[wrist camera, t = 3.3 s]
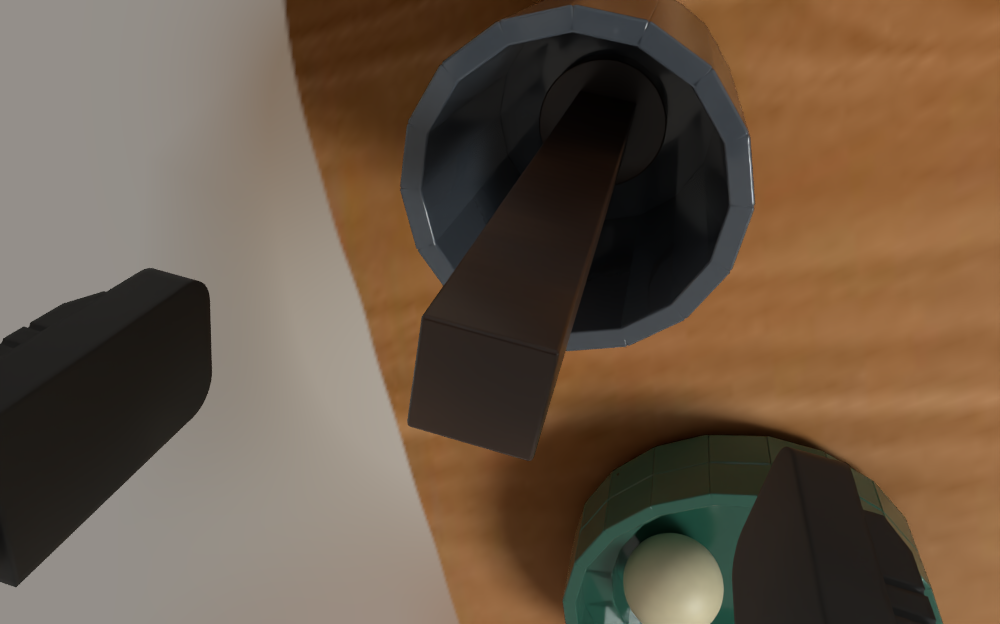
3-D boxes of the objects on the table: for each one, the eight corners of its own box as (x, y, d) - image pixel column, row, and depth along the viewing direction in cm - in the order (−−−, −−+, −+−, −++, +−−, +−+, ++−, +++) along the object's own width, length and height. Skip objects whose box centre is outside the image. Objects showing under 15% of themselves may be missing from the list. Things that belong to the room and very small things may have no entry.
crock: (474, 195, 30) (386, 303, 21) (513, -41, 25) (422, -29, 17) (689, 249, 29) (689, 386, 20) (768, 12, 24) (811, 55, 16)
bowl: (549, 613, 40) (534, 687, 36) (620, 386, 32) (610, 449, 28) (834, 702, 38) (850, 791, 34) (977, 485, 30) (1019, 566, 26)
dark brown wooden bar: (534, 161, 28) (328, 464, 12) (558, 41, 25) (345, 214, 10) (648, 189, 27) (591, 543, 11) (683, 68, 25) (673, 298, 9)
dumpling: (616, 566, 36) (608, 640, 32) (640, 501, 34) (633, 572, 30) (705, 593, 36) (707, 672, 32) (734, 528, 33) (740, 605, 30)
